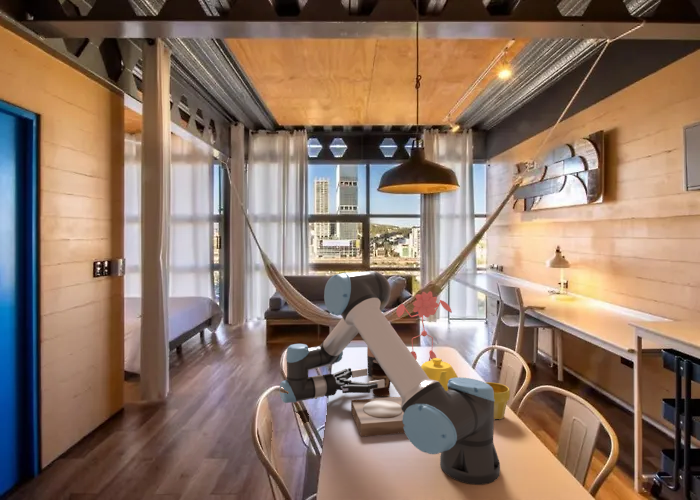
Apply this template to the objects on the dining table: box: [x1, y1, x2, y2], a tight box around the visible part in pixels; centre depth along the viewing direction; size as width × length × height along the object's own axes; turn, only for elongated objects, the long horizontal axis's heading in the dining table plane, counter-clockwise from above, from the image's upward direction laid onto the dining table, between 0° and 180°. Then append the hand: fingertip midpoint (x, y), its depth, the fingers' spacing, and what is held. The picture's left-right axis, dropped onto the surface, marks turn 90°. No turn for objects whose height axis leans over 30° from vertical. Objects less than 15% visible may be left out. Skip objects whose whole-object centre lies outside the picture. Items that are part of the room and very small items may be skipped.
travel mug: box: [366, 345, 376, 378], centre depth 180 cm, size 8×8×20 cm
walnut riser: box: [350, 396, 405, 438], centre depth 136 cm, size 18×18×4 cm
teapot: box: [420, 357, 458, 391], centre depth 158 cm, size 25×18×14 cm
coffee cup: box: [371, 360, 391, 398], centre depth 158 cm, size 9×8×13 cm
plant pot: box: [484, 381, 511, 420], centre depth 140 cm, size 10×10×10 cm
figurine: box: [395, 291, 452, 361], centre depth 191 cm, size 15×26×35 cm, turn 100°
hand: (375, 377), depth 158 cm, fingers open, 13 cm apart
